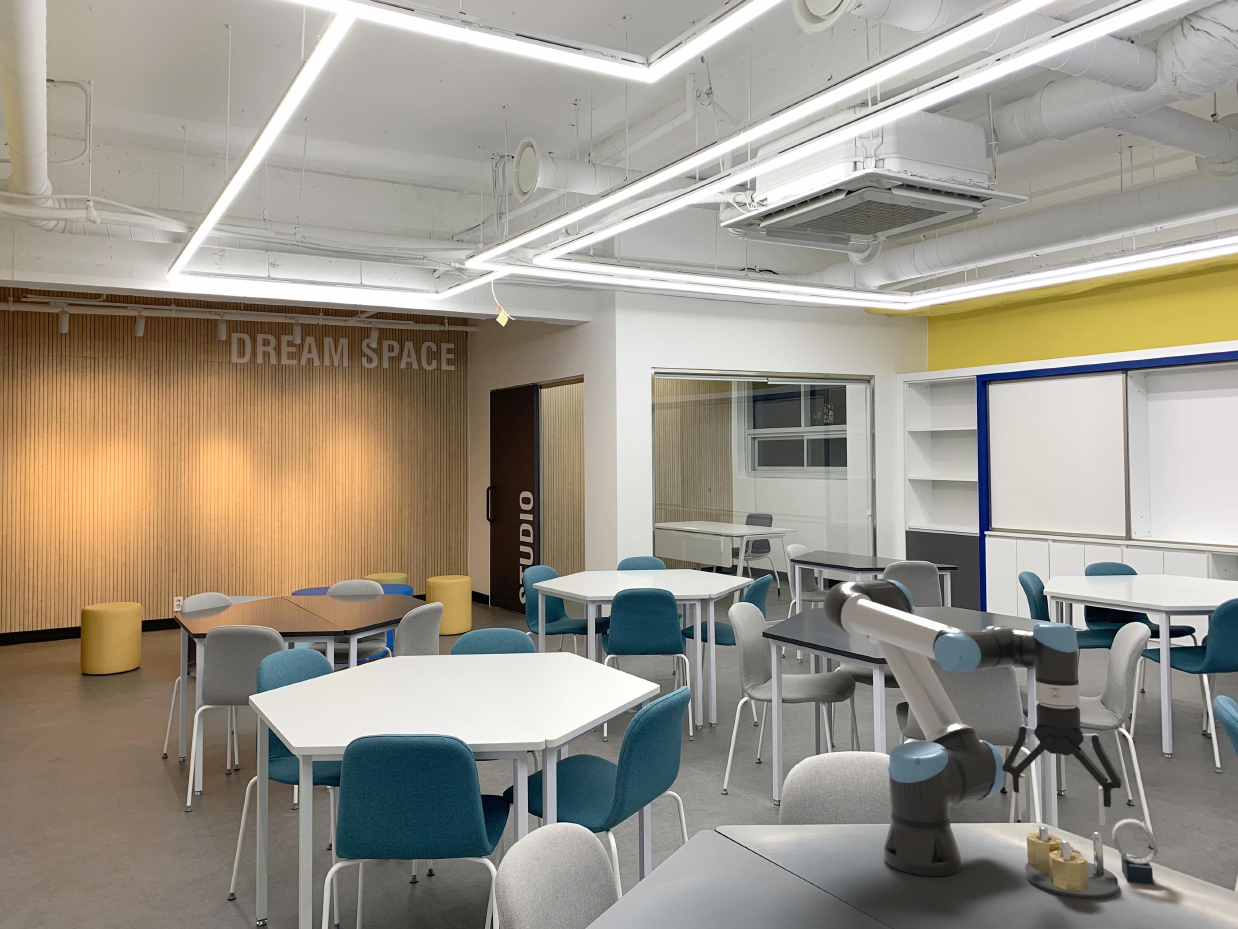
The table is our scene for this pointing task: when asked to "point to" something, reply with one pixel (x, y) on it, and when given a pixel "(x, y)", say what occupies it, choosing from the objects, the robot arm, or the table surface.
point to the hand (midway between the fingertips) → (1061, 816)
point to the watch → (1137, 866)
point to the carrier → (1098, 877)
